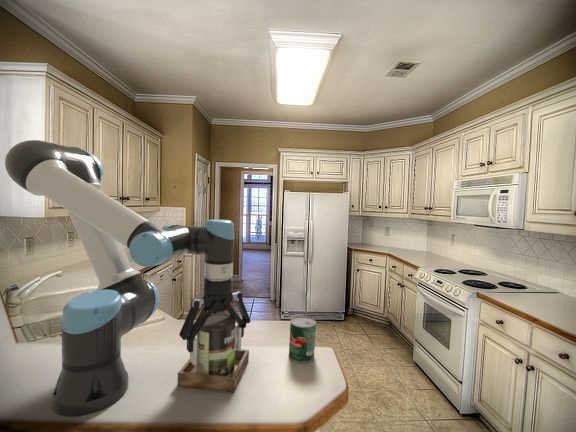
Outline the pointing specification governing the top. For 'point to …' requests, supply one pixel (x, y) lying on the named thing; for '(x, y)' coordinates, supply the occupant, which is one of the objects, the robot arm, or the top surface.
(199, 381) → the tray
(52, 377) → the top surface
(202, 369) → the coffee can
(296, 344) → the canned tomato
